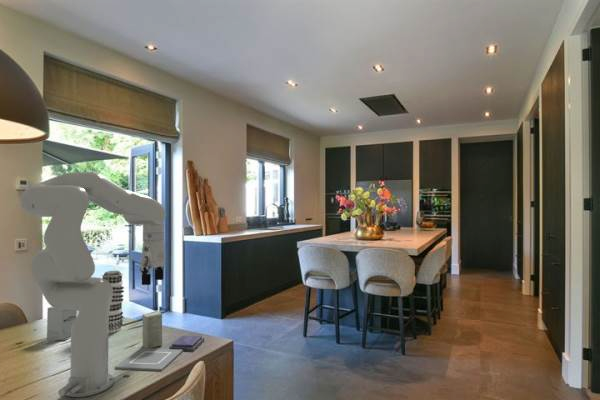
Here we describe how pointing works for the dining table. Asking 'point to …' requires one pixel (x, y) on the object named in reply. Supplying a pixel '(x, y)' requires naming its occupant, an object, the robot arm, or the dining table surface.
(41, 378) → the dining table surface
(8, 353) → the dining table surface
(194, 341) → the ink pad
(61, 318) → the supplement box
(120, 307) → the decorative candle
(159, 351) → the card
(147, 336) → the skincare box
